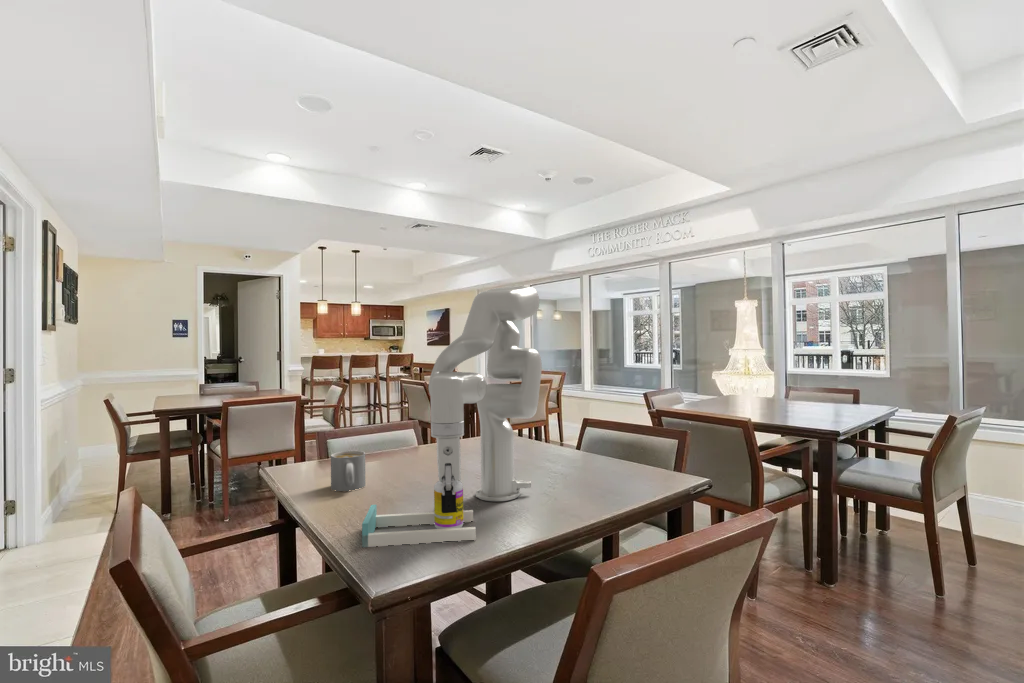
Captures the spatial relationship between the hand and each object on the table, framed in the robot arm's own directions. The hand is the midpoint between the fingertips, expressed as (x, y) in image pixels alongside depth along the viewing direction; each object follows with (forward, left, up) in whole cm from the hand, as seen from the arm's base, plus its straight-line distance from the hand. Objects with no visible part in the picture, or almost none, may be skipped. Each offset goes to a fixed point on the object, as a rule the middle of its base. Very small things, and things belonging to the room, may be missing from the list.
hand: (448, 505), depth 111 cm
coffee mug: (+30, -39, -6) cm, 49 cm away
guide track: (+7, 0, -6) cm, 9 cm away
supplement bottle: (0, 0, -5) cm, 5 cm away
